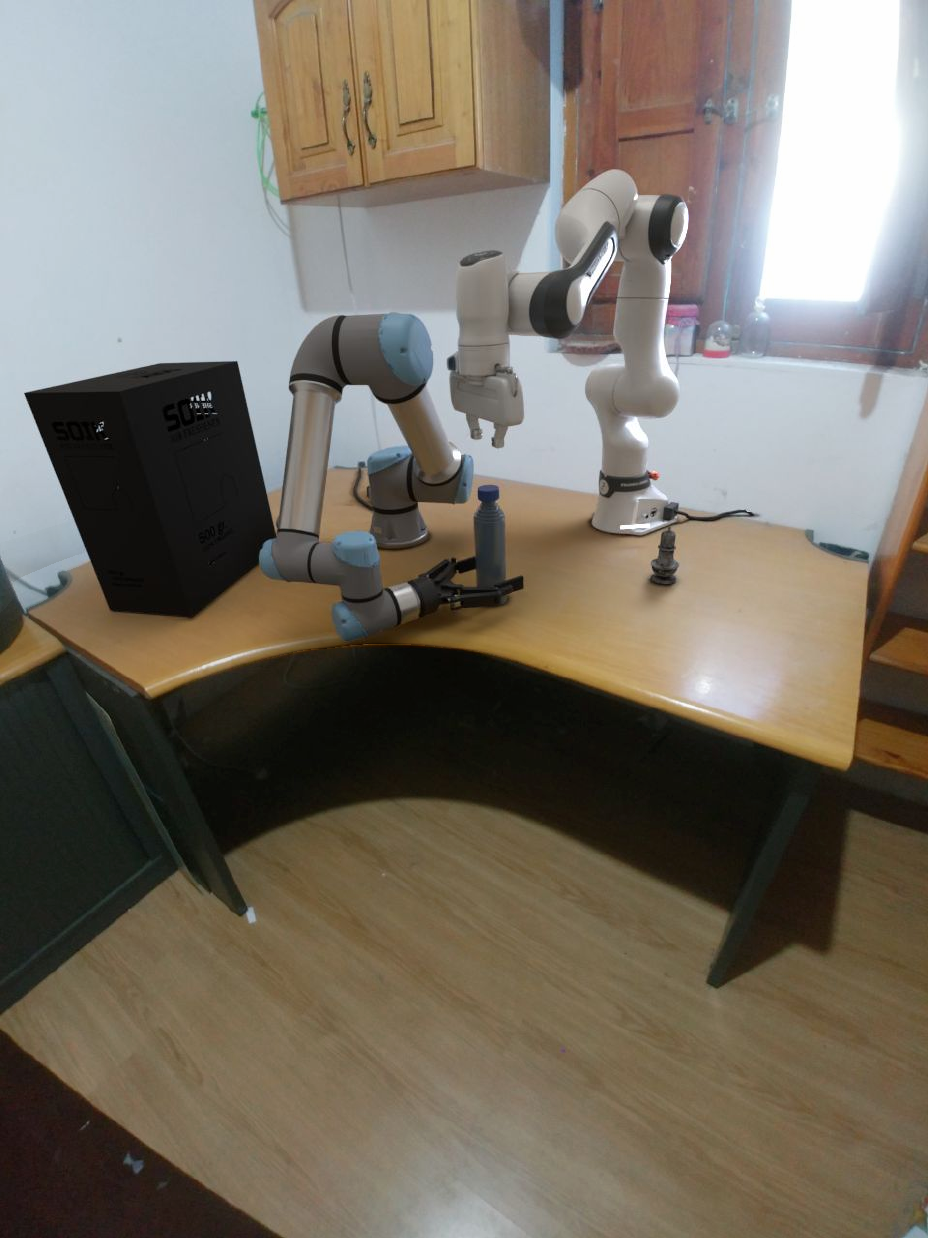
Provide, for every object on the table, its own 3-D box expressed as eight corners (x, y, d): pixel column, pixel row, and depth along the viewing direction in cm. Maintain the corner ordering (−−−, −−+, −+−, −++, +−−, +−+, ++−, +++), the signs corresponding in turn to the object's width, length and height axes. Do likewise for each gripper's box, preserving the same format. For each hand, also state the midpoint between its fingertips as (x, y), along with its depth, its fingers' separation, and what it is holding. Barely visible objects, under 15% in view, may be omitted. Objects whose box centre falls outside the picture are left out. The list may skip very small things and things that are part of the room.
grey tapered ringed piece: (678, 585, 127) (686, 532, 121) (649, 584, 129) (655, 531, 123) (675, 573, 132) (683, 521, 126) (648, 572, 134) (653, 520, 128)
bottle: (497, 590, 130) (494, 482, 118) (512, 601, 125) (510, 491, 114) (471, 597, 128) (466, 488, 116) (485, 609, 123) (481, 497, 111)
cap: (492, 493, 118) (492, 483, 117) (503, 499, 115) (503, 488, 114) (474, 497, 117) (473, 487, 116) (484, 503, 113) (483, 492, 112)
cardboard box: (191, 617, 126) (119, 391, 104) (110, 610, 131) (23, 392, 108) (278, 546, 158) (237, 360, 135) (210, 542, 162) (159, 363, 140)
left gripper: (386, 593, 127) (471, 566, 136) (446, 644, 108) (540, 609, 118) (382, 560, 123) (469, 535, 132) (444, 608, 104) (540, 574, 114)
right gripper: (533, 365, 97) (533, 451, 104) (472, 354, 113) (475, 430, 119) (499, 369, 94) (501, 458, 101) (441, 358, 110) (447, 435, 117)
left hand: (502, 570), depth 125 cm, fingers open, 13 cm apart
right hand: (486, 443), depth 110 cm, fingers open, 6 cm apart
